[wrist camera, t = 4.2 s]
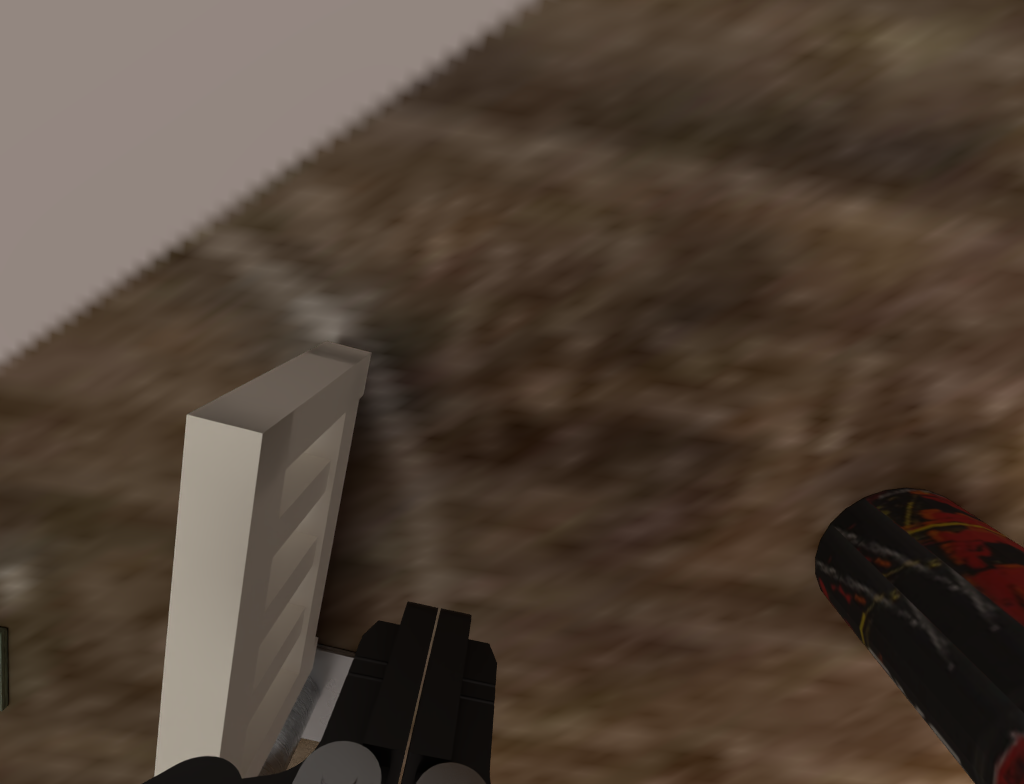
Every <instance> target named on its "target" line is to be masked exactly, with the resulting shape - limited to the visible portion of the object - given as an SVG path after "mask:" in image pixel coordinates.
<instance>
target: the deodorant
mask: <svg viewBox="0 0 1024 784" xmlns="http://www.w3.org/2000/svg"><path fill="white" fill-rule="evenodd" d="M815 574H816V577H817V580H818V583H819V586H820V589H821V591H822V592H823V593H824V595H825V596H826V597H827V599H828V600H829V601H830V603H831V604H832V605H833V606H834V608H835V609H836V610H837V611H838V613H839V614H840V615H841V616H842V618H843V619H844V620H845V621H846V623H847V624H848V625H849V626H850V628H851V629H852V630H853V631H854V633H855V634H856V635H857V636H858V638H859V639H860V640H861V641H862V643H863V644H864V645H865V646H866V648H867V649H868V650H869V651H870V653H871V654H872V655H873V656H874V658H875V659H876V660H877V661H878V663H879V664H880V665H881V666H882V668H883V669H884V670H885V671H886V673H887V674H888V675H889V676H890V678H891V679H892V680H893V681H894V683H895V684H896V685H897V686H898V688H899V689H900V690H901V691H902V693H903V694H904V695H905V696H906V698H907V699H908V700H909V701H910V703H911V704H912V705H913V706H914V708H915V709H916V710H917V711H918V713H919V714H920V715H921V716H922V718H923V719H924V720H925V721H926V723H927V724H928V725H929V726H930V728H931V729H932V730H933V731H934V733H935V734H936V735H937V736H938V738H939V739H940V740H941V741H942V743H943V744H944V745H945V746H946V748H947V749H948V750H949V751H950V753H951V754H952V755H953V756H954V758H955V759H956V760H957V761H958V763H959V764H960V765H961V766H962V768H963V769H964V770H965V771H966V773H967V774H968V775H969V776H970V778H971V779H972V780H973V781H974V783H975V784H1024V548H1023V547H1021V546H1020V545H1018V544H1017V543H1015V542H1014V541H1012V540H1010V539H1009V538H1007V537H1006V536H1004V535H1003V534H1001V533H1000V532H998V531H997V530H995V529H993V528H992V527H990V526H989V525H987V524H986V523H984V522H983V521H981V520H979V519H978V518H976V517H975V516H973V515H972V514H970V513H969V512H967V511H966V510H964V509H962V508H961V507H959V506H958V505H956V504H955V503H953V502H952V501H950V500H949V499H947V498H945V497H943V496H941V495H938V494H935V493H933V492H930V491H928V490H921V489H912V488H901V489H893V490H885V491H882V492H879V493H876V494H874V495H871V496H868V497H865V498H863V499H862V500H860V501H858V502H857V503H855V504H853V505H852V506H850V507H848V508H847V509H845V510H844V511H843V512H842V513H841V514H840V515H839V516H838V517H837V518H836V519H835V520H834V521H833V522H832V523H831V524H830V526H829V527H828V529H827V531H826V532H825V534H824V535H823V537H822V539H821V541H820V544H819V547H818V551H817V554H816V557H815Z"/></svg>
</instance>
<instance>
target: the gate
mask: <svg viewBox="0 0 1024 784" xmlns="http://www.w3.org/2000/svg"><path fill="white" fill-rule="evenodd" d="M371 353H372V352H368V351H364V350H360V349H356V348H352V347H349V346H345V345H341V344H337V343H333V342H329V341H325V342H323V343H322V344H320V345H318V346H316V347H314V348H312V349H310V350H308V351H306V352H304V353H303V354H301V355H299V356H297V357H295V358H293V359H291V360H289V361H287V362H285V363H284V364H282V365H280V366H278V367H276V368H274V369H272V370H270V371H268V372H266V373H265V374H263V375H261V376H259V377H257V378H255V379H253V380H251V381H249V382H248V383H246V384H244V385H242V386H240V387H238V388H236V389H234V390H232V391H230V392H229V393H227V394H225V395H223V396H221V397H219V398H217V399H215V400H213V401H211V402H210V403H208V404H206V405H204V406H202V407H200V408H198V409H196V410H194V411H192V412H191V413H189V414H187V419H186V430H185V441H184V452H183V463H182V474H181V485H180V497H179V508H178V519H177V530H176V541H175V552H174V563H173V574H172V586H171V597H170V608H169V619H168V630H167V641H166V652H165V663H164V674H163V686H162V697H161V708H160V719H159V730H158V741H157V752H156V763H155V775H154V777H155V776H157V775H159V774H160V773H162V772H164V771H166V770H167V769H169V768H171V767H173V766H174V765H176V764H178V763H180V762H182V761H185V760H188V759H191V758H195V757H200V756H216V757H220V758H223V759H225V760H227V761H229V762H231V763H232V764H233V765H234V766H235V767H236V768H237V769H238V771H239V773H240V775H241V778H250V777H257V776H258V775H259V773H260V771H261V769H262V767H263V765H264V763H265V761H266V759H267V757H268V755H269V753H270V751H271V749H272V747H273V745H274V743H275V741H276V739H277V737H278V735H279V733H280V731H281V729H282V728H283V726H284V724H285V722H286V720H287V718H288V716H289V714H290V712H291V710H292V708H293V706H294V704H295V702H296V700H297V698H298V696H299V694H300V692H301V690H302V688H303V686H304V684H305V682H306V680H307V678H308V676H309V674H310V672H311V670H312V668H313V663H314V658H315V653H316V647H317V642H318V637H315V636H316V631H317V626H318V620H319V615H320V609H321V604H322V598H323V593H324V588H325V582H326V577H327V571H328V566H329V561H330V555H331V550H332V544H333V539H334V534H335V528H336V523H337V517H338V512H339V506H340V501H341V496H342V490H343V485H344V479H345V474H346V469H347V463H348V458H349V452H350V447H351V442H352V436H353V431H354V425H355V420H356V415H357V409H358V404H359V399H360V398H361V397H362V396H363V395H364V390H365V385H366V380H367V374H368V369H369V364H370V358H371Z"/></svg>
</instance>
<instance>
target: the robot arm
mask: <svg viewBox="0 0 1024 784" xmlns="http://www.w3.org/2000/svg"><path fill="white" fill-rule="evenodd" d="M437 612H438V608H436V607H431V606H427V605H422V604H417V603H413V602H407V605H406V608H405V611H404V614H403V618H402V621H401V624H400V625H398V624H393V623H389V622H384V621H378V622H376V623H375V624H374V625H373V626H372V627H371V628H370V629H369V630H368V631H367V632H366V633H365V634H364V635H363V636H362V639H361V641H360V644H359V646H358V649H357V651H356V654H355V657H354V659H353V661H352V664H351V666H350V669H349V671H348V675H347V676H346V679H345V681H344V684H343V686H342V689H341V691H340V694H339V696H338V699H337V701H336V704H335V706H334V709H333V711H332V714H331V717H330V719H329V722H328V724H327V727H326V729H325V732H324V734H323V737H322V739H321V741H320V743H319V745H318V746H317V747H316V749H315V750H314V751H313V752H312V754H310V755H309V756H308V757H307V758H306V759H305V760H304V761H303V762H301V763H300V764H298V765H297V766H295V767H293V768H291V769H289V770H286V771H283V772H280V773H277V774H272V775H265V776H257V777H250V778H241V775H240V773H239V771H238V769H237V768H236V767H235V766H234V765H233V764H232V763H231V762H229V761H227V760H225V759H223V758H220V757H216V756H200V757H195V758H191V759H188V760H185V761H182V762H180V763H178V764H176V765H174V766H173V767H171V768H169V769H167V770H166V771H164V772H162V773H160V774H159V775H157V776H155V777H153V778H151V779H150V780H148V781H146V782H144V783H143V784H398V780H399V776H400V772H401V767H402V763H403V759H404V755H405V750H406V746H407V742H408V737H409V733H410V729H411V724H412V720H413V716H414V711H415V707H416V703H417V698H418V694H419V690H420V685H421V681H422V677H423V672H424V668H425V664H426V659H427V655H428V651H429V646H430V642H431V638H432V633H433V629H434V625H435V620H436V616H437ZM470 624H471V615H470V614H465V613H460V612H456V611H451V610H446V609H442V608H441V611H440V615H439V619H438V624H437V628H436V632H435V636H434V641H433V645H432V649H431V653H430V658H429V662H428V666H427V670H426V675H425V679H424V684H423V688H422V692H421V697H420V701H419V706H418V710H417V715H416V719H415V724H414V728H413V732H412V737H411V741H410V746H409V750H408V755H407V759H406V764H405V768H404V772H403V777H402V781H401V784H491V783H490V758H491V744H492V729H493V715H494V700H495V685H496V671H497V662H496V660H495V657H494V654H493V652H492V649H491V647H490V644H488V643H484V642H479V641H474V640H469V639H468V638H469V631H470Z"/></svg>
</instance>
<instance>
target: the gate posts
mask: <svg viewBox="0 0 1024 784" xmlns="http://www.w3.org/2000/svg"><path fill="white" fill-rule="evenodd" d="M355 654H356V653H354V652H349V651H345V650H341V649H337V648H333V647H328V646H324V645H320V644H317V647H316V653H315V658H314V663H313V668H312V670H311V672H310V674H309V676H308V678H307V680H306V682H305V684H304V686H303V688H302V690H301V692H300V694H299V696H298V698H297V700H296V702H295V704H294V706H293V708H292V710H291V712H290V714H289V716H288V718H287V720H286V722H285V724H284V726H283V728H282V729H281V731H280V733H279V735H278V737H277V739H276V741H275V743H274V745H273V747H272V749H271V751H270V753H269V755H268V757H267V759H266V761H265V763H264V765H263V767H262V769H261V771H260V773H259V775H258V776H265V775H272V774H277V773H280V772H283V771H286V770H287V767H288V765H289V763H290V761H291V759H292V757H293V754H294V752H295V750H296V748H297V746H298V743H299V741H300V739H301V738H305V739H309V740H314V741H318V742H320V741H321V739H322V737H323V734H324V732H325V729H326V727H327V724H328V722H329V719H330V717H331V714H332V711H333V709H334V706H335V704H336V701H337V699H338V696H339V694H340V691H341V689H342V686H343V684H344V681H345V679H346V676H347V675H348V671H349V669H350V666H351V664H352V661H353V659H354V657H355ZM7 706H8V655H7V629H6V628H2V627H0V711H3V710H4V709H5V708H6V707H7Z"/></svg>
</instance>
